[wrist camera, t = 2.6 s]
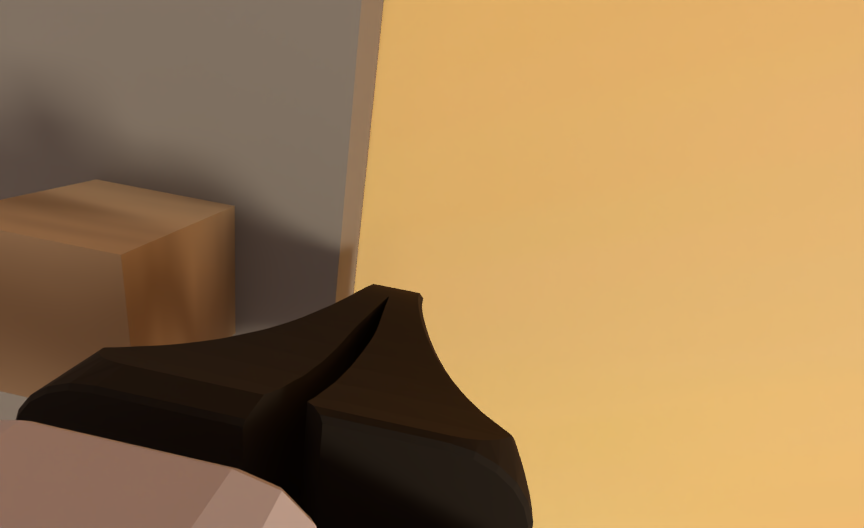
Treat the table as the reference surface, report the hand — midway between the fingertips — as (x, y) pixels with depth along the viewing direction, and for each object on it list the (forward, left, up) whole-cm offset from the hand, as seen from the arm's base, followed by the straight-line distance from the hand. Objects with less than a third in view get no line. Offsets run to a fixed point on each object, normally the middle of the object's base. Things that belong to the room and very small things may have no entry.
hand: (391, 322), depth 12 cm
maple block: (0, +7, -1) cm, 7 cm away
